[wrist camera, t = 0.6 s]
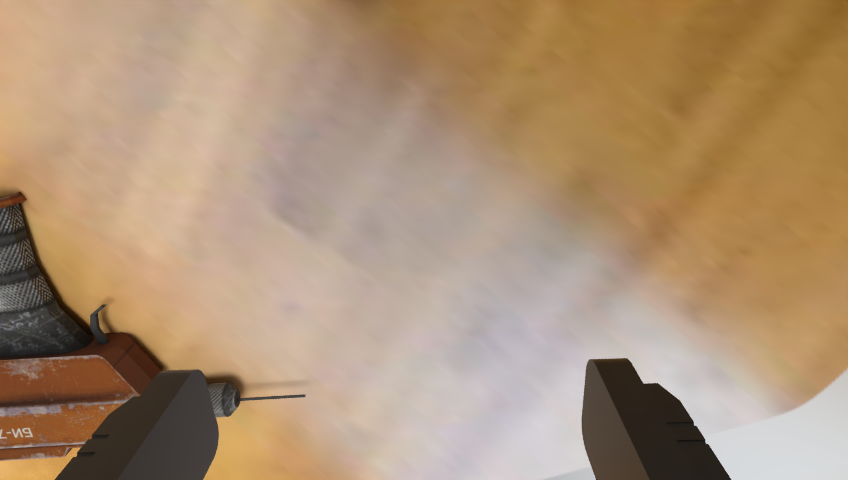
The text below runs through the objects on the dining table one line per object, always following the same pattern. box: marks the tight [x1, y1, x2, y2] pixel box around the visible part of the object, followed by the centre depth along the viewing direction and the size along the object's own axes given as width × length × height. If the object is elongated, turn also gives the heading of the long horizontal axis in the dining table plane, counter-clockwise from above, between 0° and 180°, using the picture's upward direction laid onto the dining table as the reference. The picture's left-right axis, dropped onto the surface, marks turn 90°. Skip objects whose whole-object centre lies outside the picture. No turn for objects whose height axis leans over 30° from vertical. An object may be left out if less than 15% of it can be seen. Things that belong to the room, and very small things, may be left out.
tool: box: [0, 192, 306, 461], centre depth 40 cm, size 4×27×30 cm
